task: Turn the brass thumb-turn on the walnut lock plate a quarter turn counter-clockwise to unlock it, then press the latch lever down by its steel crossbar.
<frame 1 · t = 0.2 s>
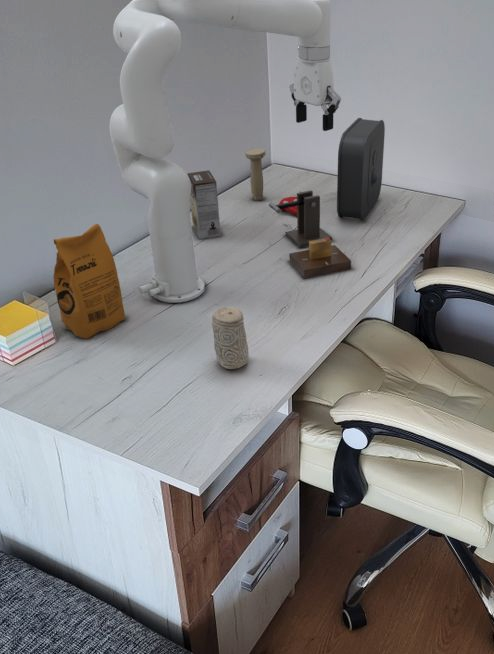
hand: (314, 125, 169), 31 cm above the table, tool pointing down, fingers open, 9 cm apart
latch: (293, 204, 177), point 11 cm above the table, hinge at 0.0°
coffee box: (206, 232, 189), on the table
speaker: (361, 209, 203), on the table
thumbturn: (320, 248, 169), point 5 cm above the table, hinge at 0.0°
latch bracket: (308, 238, 185), on the table
lock plate: (319, 265, 172), on the table
coffee package: (95, 324, 148), on the table
tracker holder: (299, 209, 202), on the table
handle: (257, 199, 209), on the table
carving: (232, 364, 136), on the table
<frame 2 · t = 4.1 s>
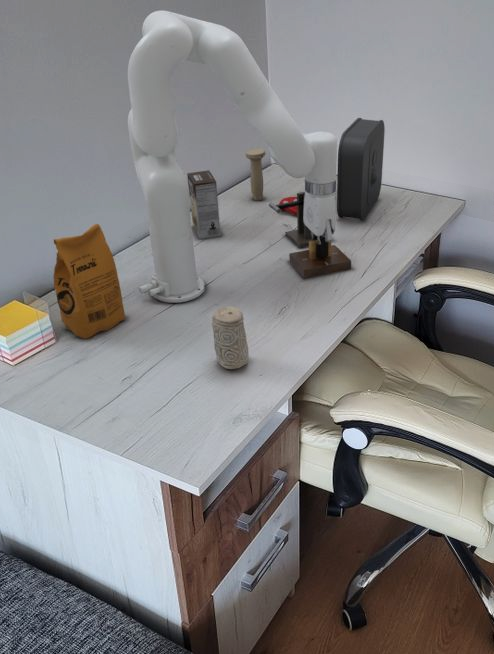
hand: (320, 254, 170), 3 cm above the table, tool pointing down, fingers closed on thumbturn, 2 cm apart
thumbturn: (320, 248, 169), point 5 cm above the table, hinge at 0.0°, touching gripper
everything else where it was.
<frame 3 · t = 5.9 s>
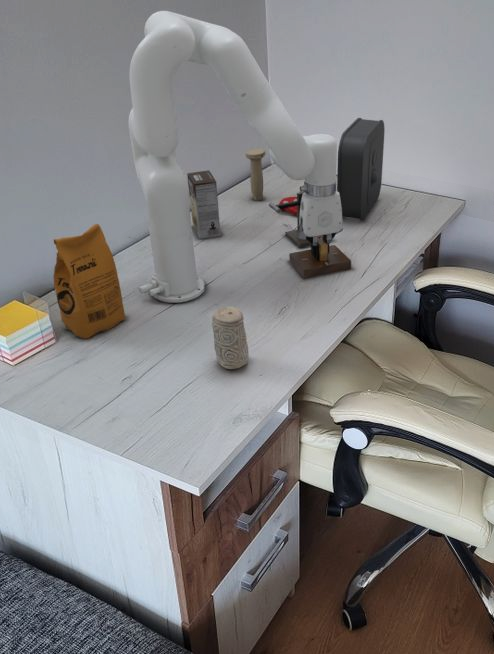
hand: (320, 256, 170), 3 cm above the table, tool pointing down, fingers closed on thumbturn
thumbturn: (320, 248, 169), point 5 cm above the table, hinge at 89.7°, touching gripper
everything else where it was.
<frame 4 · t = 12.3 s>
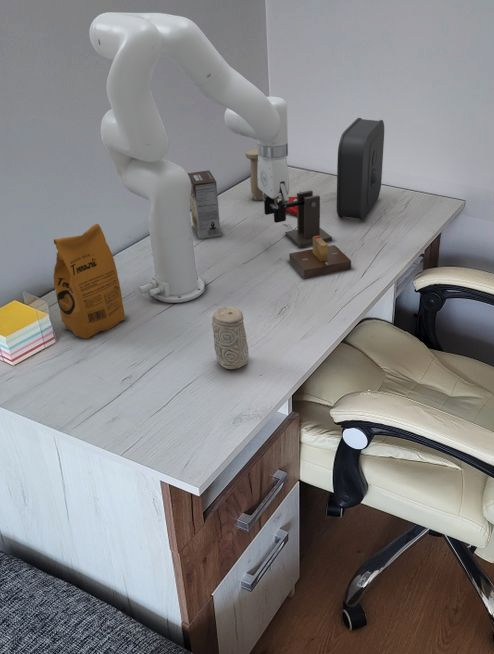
hand: (275, 216, 177), 8 cm above the table, tool pointing down, fingers closed on latch, 5 cm apart
latch: (293, 204, 177), point 11 cm above the table, hinge at 0.0°, touching gripper
thumbturn: (320, 248, 169), point 5 cm above the table, hinge at 89.8°
everything else where it was.
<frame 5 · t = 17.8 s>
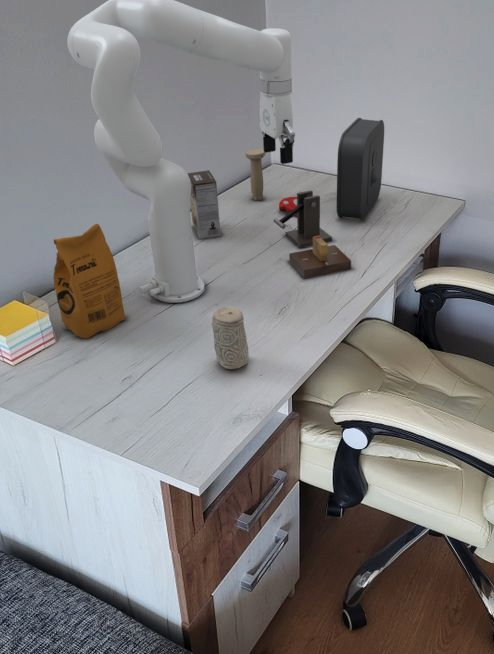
hand: (278, 157, 168), 24 cm above the table, tool pointing down, fingers open, 9 cm apart
latch: (295, 211, 179), point 9 cm above the table, hinge at -28.0°
everything else where it was.
at the end: thumbturn at +90° (first picture: +0°); latch at -28° (first picture: +0°) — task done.
